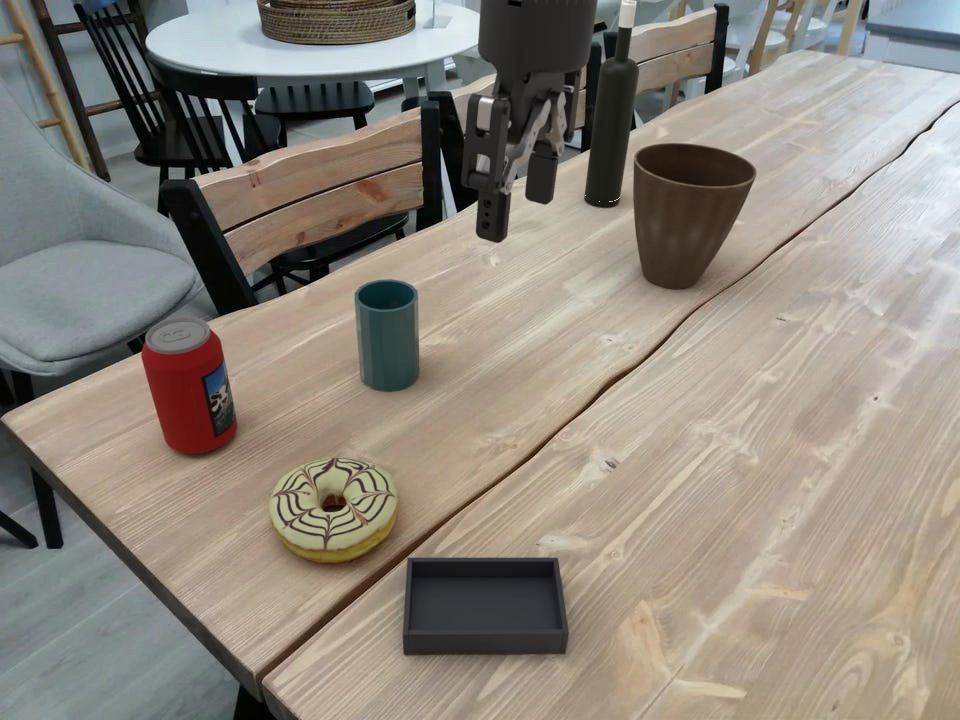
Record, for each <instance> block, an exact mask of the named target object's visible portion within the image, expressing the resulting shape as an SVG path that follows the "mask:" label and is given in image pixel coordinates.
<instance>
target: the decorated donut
mask: <svg viewBox="0 0 960 720" xmlns="http://www.w3.org/2000/svg"><path fill="white" fill-rule="evenodd" d="M330 506H344V507H343V508H341V510H337V511H331V512H330V511H327V512H326V511H324V509H325V508H326V507H330ZM399 507H400V498H399V495H398V492H397V487H396V486H395V483H394V481H393V476H392V475H391V474H390V473H389V472H387V471H386V470H384V469H383V468H382V469H381V468H380V466H379V465H377V464H375V463H372V462H369V461H364V460H360V459H356V458H349V457H328V458H323V459H321V458H319V459H316V460H313V461H310V462H307V463H304V464H302V465H299V466H297V467H295V468H294V469H292V470H291V471H289V472H288V473H286V474H284V475H283V476H282V477H281V478H280V479H279V480H278V483H276V485H275V487H274V489H273V492H272V493H271V496H270V498H269V503H268V513H269V517H270V521H271V525H272V528H273V530H274V532H275V534H276V536H277V537H278V539H279V540H280V541H281V542H282V544H283V545H284V546H285V547H286V548H287V549H288V550H290V551H291V552H292V553H294V554H295V555H296V557H297V556H298V557H299V558H300V557H301V558H303V559H306V560H307V561H312V562H316V563H321V564H323V563H329V564H331V563H332V564H333V563H334V564H337V563H344V562H345V563H347V562H349V561H352V560H355V559H357V558H359V557H361V556H363V555H365V554H367V553H369V552H370V551H371V550H372V549H373V548H374V547H376V546H377V545H379V544H380V543H381V542H382V541H383V540H385V539H386V538H387V537H388V536H389V534H390V533H391V530H392V529H393V528H394V525H395V523H396V519H397V514H398V512H399V509H400V508H399Z"/></svg>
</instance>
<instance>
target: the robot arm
mask: <svg viewBox="0 0 960 720" xmlns="http://www.w3.org/2000/svg"><path fill="white" fill-rule="evenodd" d="M598 1H599V0H480V9H479V24H478V39H477V52H478V55H479V57H480V58H481V59H483V60H484V61H485V62H487V63H490V64H491V65H492V66H493V67H494V69H495V71H496V75H495V79H494V84H493V88H492V92H491V95H487V94H485V95H483V94H479V93H472V94H471V95H470V96H469V98H468V101H467V107H466V121H465V131H464V142H463V152H462V153H463V154H462V166H461V176H460V184H461V186H462V187H465V188H471V189H474V190H477V191H478V192H477V193H478V194H477V208H476V220H475V221H476V222H475V235H476V236H477V237H478V238H479V239H482V240H485V241H489V242H491V243H496V244H501V243H502V242H503V241H504V240H505V239H507V237H508V230H509V223H510V222H509V221H510V214H511V213H510V211H511V202H512V192H511V191H512V188H513V185H514V183H515V180H516V176H517V174H518V171H519V168H520V167H522V166H525V165H527V172H526V181H525V189H524V197H525V199H526V200H527V201H528V202H529V201H530V202H534V203H537V204H541V205H545V206H546V205H548V204H550V203H551V202H552V201H553V200H554V197H555V196H554V195H555V189H556V180H557V172H558V167H559V159H560V158H561V157H562V156H563V154H564V152H565V146H566V145H565V143H567V144H571V143H572V141H573V139H574V137H575V129H576V119H577V113H578V112H577V111H578V104H579V95H580V88H581V80H582V79H581V78H582V73H583V69H584V67H586V65H587V64H588V63H589V60H590V55H591V49H592V42H593V36H594V29H595V22H596V15H597V9H598V3H599V2H598ZM479 155H480V158H479V160H478V156H479ZM505 162H506V164H505Z"/></svg>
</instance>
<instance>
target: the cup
mask: <svg viewBox="0 0 960 720" xmlns="http://www.w3.org/2000/svg"><path fill="white" fill-rule="evenodd" d="M354 310H355V311H354V313H355V324H356V337H357V339H356V340H357V351H358V366H359V375H360V380H361V381H362V382H363V384H364V385H366V387H368V388H370V389H373V390H375V391H378V392H398V391H401V390H404V389H407V388H409V387H411V386H412V385H414V384H415V383H416V381H418V379H419V377H420V325H419V324H420V322H419V320H420V318H419V291H418V289H416V287H414V286H413V284H410V283H408V282H406V281H403V280H400V279H399V280H398V279H391V278H389V279H387V278H386V279H376V280H371V281H369V282H366V283H364V284H362V285H360V286H359V287H358V288H357V289H356V290H355V292H354Z"/></svg>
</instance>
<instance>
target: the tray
mask: <svg viewBox="0 0 960 720" xmlns="http://www.w3.org/2000/svg"><path fill="white" fill-rule="evenodd" d="M406 562H407V563H406V576H405V592H404V608H403V622H402V623H403V624H402V651H403V655H404V656H416V655H417V656H420V655H421V656H422V655H423V656H426V655H427V656H428V655H429V656H433V655H435V656H438V655H439V656H440V655H443V656H444V655H445V656H446V655H565V654H566V653H567V649H568V641H569V636H570V631H569V624H568V618H567V617H568V616H567V611H566V604H565V596H564V590H563V582H562V575H561V569H560V561H559V557H407V559H406Z"/></svg>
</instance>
